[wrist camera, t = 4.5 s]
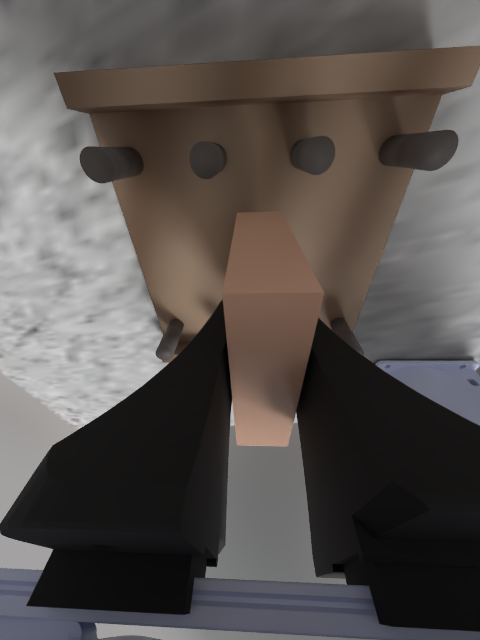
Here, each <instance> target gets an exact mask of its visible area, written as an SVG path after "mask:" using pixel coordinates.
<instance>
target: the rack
mask: <svg viewBox="0 0 480 640" xmlns="http://www.w3.org/2000/svg"><path fill="white" fill-rule="evenodd" d="M479 67H480V46H467V47H452V48H436V49H420V50H405V51H389V52H373V53H358V54H342V55H326V56H310V57H295V58H279V59H263V60H248V61H232V62H216V63H201V64H185V65H169V66H153V67H138V68H122V69H106V70H91V71H75V72H59V73H54V75H55V78H56V80H57V83H58V86H59V88H60V91H61V94H62V96H63V99H64V102H65V104H66V107H67V109H71V110H76V111H80V112H85V113H89V114H90V117H91V120H92V123H93V126H94V129H95V132H96V135H97V138H98V141H99V144H100V147H85V148H84V149H83V150H82V151H81V153H80V163H81V166H82V168H83V170H84V172H85V173H86V175H87V176H88V177H89V178H90V179H92V180H93V181H95V182H97V183H106V182H111V181H112V182H113V185H114V188H115V191H116V194H117V197H118V200H119V203H120V206H121V209H122V212H123V215H124V218H125V221H126V224H127V227H128V230H129V233H130V236H131V239H132V242H133V245H134V248H135V251H136V254H137V257H138V260H139V263H140V266H141V269H142V272H143V275H144V278H145V281H146V284H147V287H148V290H149V293H150V296H151V299H152V302H153V305H154V308H155V311H156V313H157V316H158V319H159V322H160V325H161V328H162V331H163V334H164V335H163V337H162V340H161V342H160V344H159V346H158V348H157V351H156V356H157V357H158V358H159V359H161V360H162V361H163V362H171V361H172V360H173V359H174V358H175V357H176V356H177V355H178V354H179V353H180V352H181V351H182V350H183V349H184V348H185V347H186V346H187V345H188V344H189V343H190V341H191V340H192V339H193V338H194V337H195V336H196V335H197V333H198V332H199V331H200V330H201V328H202V327H203V326H204V325H205V323H206V322H207V321H208V319H209V318H210V316H211V315H212V314H213V312H214V311H215V309H216V308H217V306H218V305H219V303H220V302H221V301H222V300H223V297H222V292H223V287H224V281H225V276H226V270H227V265H228V260H229V254H230V249H231V243H232V238H233V232H234V227H235V222H236V216H237V213H242V212H276V211H282V213H283V215H284V217H285V218H286V220H287V222H288V224H289V226H290V228H291V230H292V232H293V234H294V236H295V238H296V239H297V241H298V243H299V245H300V247H301V249H302V251H303V253H304V255H305V257H306V259H307V260H308V262H309V264H310V266H311V268H312V270H313V272H314V274H315V276H316V278H317V280H318V282H319V283H320V285H321V287H322V289H323V291H324V296H323V300H322V304H321V308H320V313H319V317H318V318H319V319H320V320H322V321H323V322H324V323H325V324H326V325H327V326H328V327H329V328H330V329H331V330H332V331H333V332H334V333H335V334H336V335H338V336H339V337H340V338H341V339H342V340H344V341H345V342H346V343H347V344H348V345H349V346H351V347H352V348H353V349H354V350H356V351H357V352H358V353H360V354H361V355H362V356H363V354H364V353H363V350H362V349H361V347H360V345H359V343H358V341H357V340H356V338H355V336H354V334H353V330H354V327H355V325H356V322H357V319H358V317H359V314H360V311H361V309H362V306H363V303H364V301H365V298H366V295H367V293H368V290H369V287H370V285H371V282H372V279H373V277H374V274H375V271H376V269H377V266H378V263H379V261H380V258H381V255H382V253H383V250H384V247H385V245H386V242H387V239H388V237H389V234H390V231H391V229H392V226H393V223H394V221H395V218H396V216H397V213H398V210H399V208H400V205H401V202H402V200H403V197H404V194H405V192H406V189H407V186H408V184H409V181H410V178H411V176H412V173H413V170H414V169H419V170H427V171H433V170H437V169H439V168H441V167H442V166H444V165H445V164H446V163H447V162H448V161H449V160H450V159H451V158H452V156H453V155H454V153H455V151H456V149H457V146H458V136H457V134H456V133H455V132H454V131H452V130H442V131H432V132H428V130H429V128H430V125H431V122H432V120H433V117H434V114H435V112H436V109H437V106H438V104H439V101H440V98H441V96H442V94H446V93H449V92H453V91H456V90H460V89H463V88H467V87H470V86H472V83H473V81H474V79H475V76H476V74H477V72H478V69H479Z"/></svg>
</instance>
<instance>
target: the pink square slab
mask: <svg viewBox="0 0 480 640" xmlns="http://www.w3.org/2000/svg"><path fill="white" fill-rule="evenodd" d="M323 296H324V291H323V289H322V287H321V285H320V283H319V282H318V280H317V278H316V276H315V274H314V272H313V270H312V268H311V266H310V264H309V262H308V260H307V259H306V257H305V255H304V253H303V251H302V249H301V247H300V245H299V243H298V241H297V239H296V238H295V236H294V234H293V232H292V230H291V228H290V226H289V224H288V222H287V220H286V218H285V217H284V215H283V213H282V211H276V212H242V213H237V216H236V222H235V227H234V232H233V238H232V243H231V249H230V254H229V260H228V265H227V270H226V276H225V281H224V287H223V292H222V297H223V307H224V317H225V328H226V338H227V348H228V358H229V369H230V379H231V389H232V400H233V410H234V420H235V430H236V441H237V445H245V446H288V443H289V439H290V434H291V430H292V426H293V422H294V418H295V414H296V409H297V405H298V401H299V397H300V393H301V388H302V384H303V380H304V376H305V371H306V367H307V363H308V359H309V355H310V350H311V346H312V342H313V338H314V334H315V329H316V325H317V321H318V317H319V313H320V308H321V304H322V300H323Z"/></svg>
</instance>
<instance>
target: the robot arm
mask: <svg viewBox="0 0 480 640" xmlns="http://www.w3.org/2000/svg"><path fill="white" fill-rule="evenodd" d="M478 367H479V364H478V363H477V362H476V361H378V362H377V363H376V364H373V363H372V362H371V361H369V360H368V359H366V358H365V357H364V356H362V355H361V354H360V353H358V352H357V351H356V350H354V349H353V348H352V347H351V346H349V345H348V344H347V343H346V342H345V341H344V340H342V339H341V338H340V337H339V336H338V335H336V334H335V333H334V332H333V331H332V330H331V329H330V328H329V327H328V326H327V325H326V324H325V323H324V322H323V321H322V320H320V319H319V318H318V321H317V325H316V329H315V334H314V338H313V342H312V346H311V350H310V355H309V359H308V363H307V367H306V371H305V376H304V380H303V384H302V388H301V393H300V397H299V401H298V405H297V409H296V413H297V420H298V427H299V434H300V442H301V450H302V458H303V466H304V475H305V484H306V492H307V501H308V511H309V522H310V531H311V543H312V554H313V560H314V566H315V573H316V577H322V578H343V579H346V582H347V585H339V584H320V583H299V582H277V581H257V580H236V579H215V578H205V572H206V566H209V567H217V561H218V554H219V553H220V552H221V550H222V549H223V547H224V546H225V535H226V504H227V479H228V455H229V454H228V453H229V433H230V413H231V404H232V389H231V379H230V369H229V358H228V348H227V338H226V328H225V317H224V307H223V300H222V301H221V302H220V303H219V305H218V306H217V308H216V309H215V311H214V312H213V314H212V315H211V316H210V318H209V319H208V321H207V322H206V323H205V325H204V326H203V327H202V328H201V330H200V331H199V332H198V333H197V335H196V336H195V337H194V338H193V339H192V340H191V341H190V343H189V344H188V345H187V346H186V347H185V348H184V349H183V350H182V351H181V352H180V353H179V354H178V355H177V356H176V357H175V358H174V359H173V360H172V361H171V362H170V363H169V364H168V365H167V366H166V367H164V368H163V369H162V370H161V371H160V372H159V373H158V374H156V375H155V376H154V377H153V378H152V379H150V380H149V381H148V382H147V383H146V384H144V385H143V386H142V387H140V388H139V389H138V390H136V391H135V392H134V393H132V394H131V395H130V396H128V397H127V398H126V399H124V400H123V401H121V402H120V403H118V404H117V405H116V406H114V407H113V408H111V409H110V410H108V411H107V412H105V413H104V414H102V415H101V416H99V417H98V418H96V419H95V420H93V421H91V422H90V423H88V424H87V425H85V426H84V427H82V428H80V429H79V430H77V431H76V432H74V433H73V434H71V435H69V436H68V437H66V438H64V439H63V440H61V441H59V442H58V443H56V444H54V445H53V446H52V447H51V449H50V450H49V451H48V453H47V454H46V456H45V457H44V459H43V460H42V462H41V463H40V465H39V466H38V467H37V469H36V471H35V472H34V474H33V475H32V477H31V478H30V480H29V481H28V483H27V484H26V486H25V487H24V489H23V490H22V492H21V493H20V495H19V496H18V498H17V499H16V501H15V502H14V504H13V505H12V507H11V508H10V510H9V511H8V513H7V514H6V516H5V517H4V519H3V520H2V522H1V523H0V533H1V534H2V535H4V536H6V537H8V538H12V539H15V540H19V541H23V542H27V543H31V544H35V545H39V546H43V547H48V548H51V549H53V552H52V554H51V556H50V558H49V560H48V562H47V564H46V566H45V568H44V570H28V569H27V570H26V569H6V568H0V640H160V639H155V638H149V637H145V636H117V637H109V638H103V639H98V638H97V635H96V625H95V623H107V624H123V625H140V626H157V627H174V628H191V629H207V630H224V631H242V632H259V633H275V634H292V635H309V636H326V637H343V638H360V639H376V640H480V376H479V375H478V374H477V373H476V372H475V370H476V369H477V368H478Z"/></svg>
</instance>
